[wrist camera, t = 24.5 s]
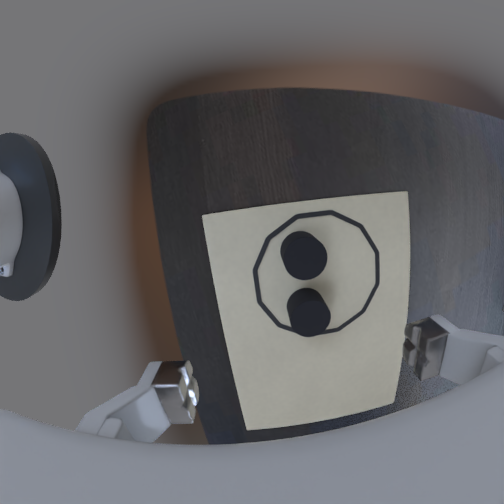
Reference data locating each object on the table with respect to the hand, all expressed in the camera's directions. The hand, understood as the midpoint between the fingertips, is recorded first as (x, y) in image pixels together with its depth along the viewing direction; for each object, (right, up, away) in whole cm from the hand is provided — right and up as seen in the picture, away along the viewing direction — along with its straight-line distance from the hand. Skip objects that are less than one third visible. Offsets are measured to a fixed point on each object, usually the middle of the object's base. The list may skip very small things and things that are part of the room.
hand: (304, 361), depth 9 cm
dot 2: (+4, -2, +20) cm, 21 cm away
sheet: (+6, -5, +21) cm, 23 cm away
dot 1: (+3, +4, +19) cm, 19 cm away
